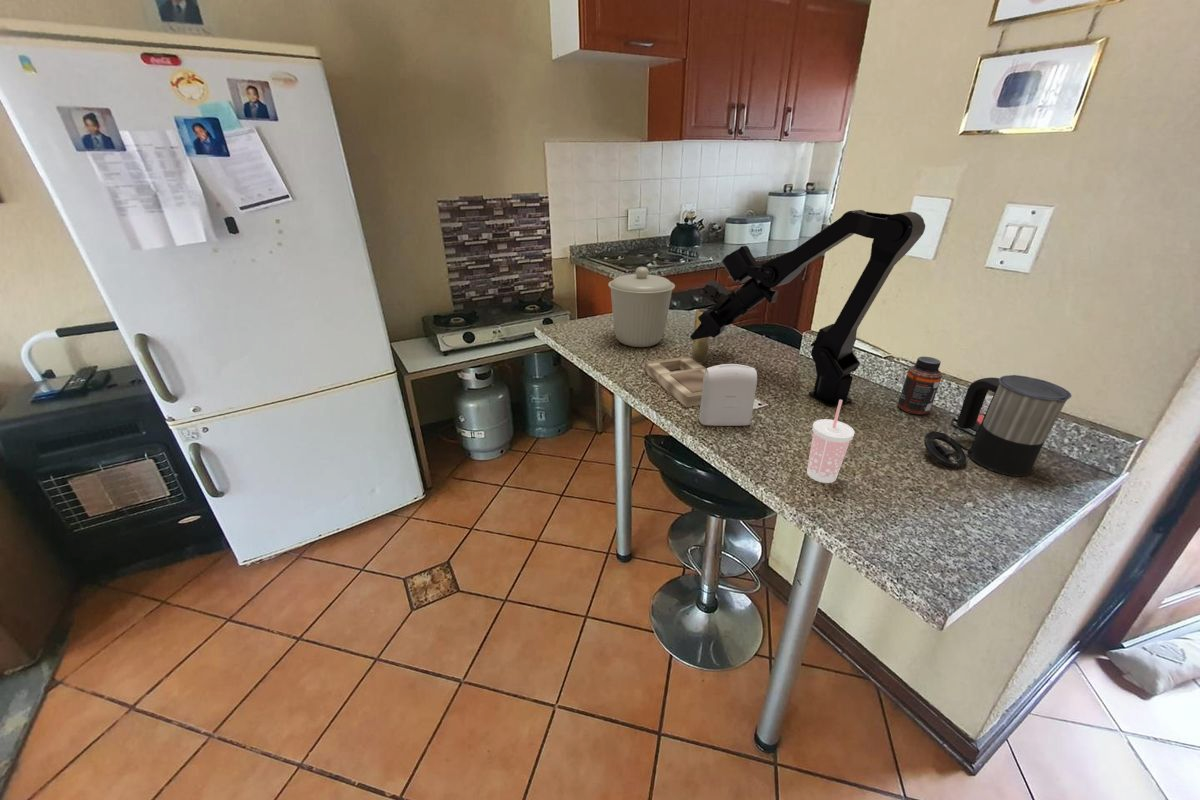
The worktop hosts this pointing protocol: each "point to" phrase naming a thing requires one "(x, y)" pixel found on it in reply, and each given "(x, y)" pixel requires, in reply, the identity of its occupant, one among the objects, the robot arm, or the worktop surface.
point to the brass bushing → (699, 341)
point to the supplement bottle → (920, 386)
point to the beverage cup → (828, 448)
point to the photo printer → (728, 395)
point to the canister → (640, 307)
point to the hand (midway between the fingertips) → (696, 334)
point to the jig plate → (679, 378)
